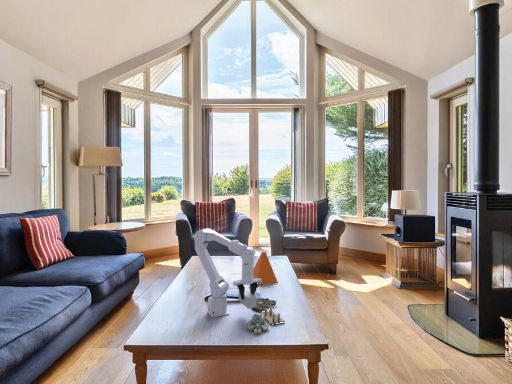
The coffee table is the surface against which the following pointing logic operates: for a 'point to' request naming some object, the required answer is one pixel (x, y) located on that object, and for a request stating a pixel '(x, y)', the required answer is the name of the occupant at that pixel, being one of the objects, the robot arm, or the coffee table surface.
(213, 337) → the coffee table surface
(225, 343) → the coffee table surface
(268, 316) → the peg stand
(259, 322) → the stuffed animal
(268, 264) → the pyramid
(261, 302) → the geode
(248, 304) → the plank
